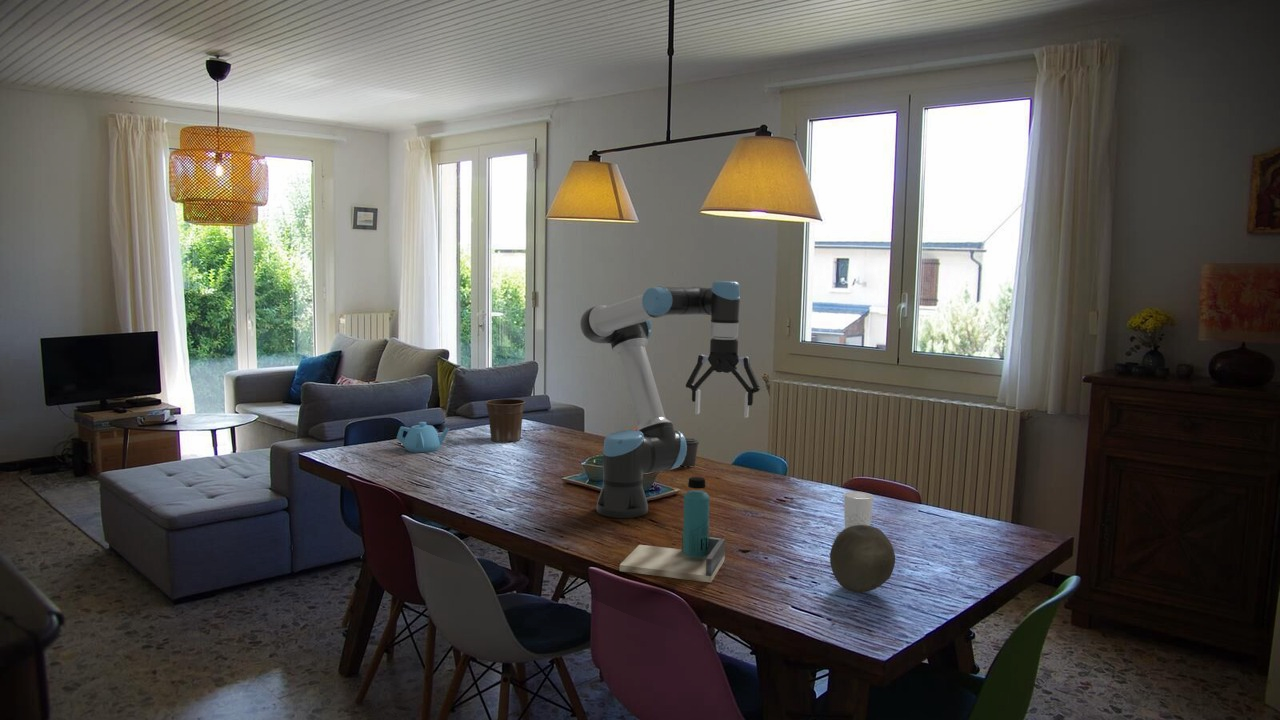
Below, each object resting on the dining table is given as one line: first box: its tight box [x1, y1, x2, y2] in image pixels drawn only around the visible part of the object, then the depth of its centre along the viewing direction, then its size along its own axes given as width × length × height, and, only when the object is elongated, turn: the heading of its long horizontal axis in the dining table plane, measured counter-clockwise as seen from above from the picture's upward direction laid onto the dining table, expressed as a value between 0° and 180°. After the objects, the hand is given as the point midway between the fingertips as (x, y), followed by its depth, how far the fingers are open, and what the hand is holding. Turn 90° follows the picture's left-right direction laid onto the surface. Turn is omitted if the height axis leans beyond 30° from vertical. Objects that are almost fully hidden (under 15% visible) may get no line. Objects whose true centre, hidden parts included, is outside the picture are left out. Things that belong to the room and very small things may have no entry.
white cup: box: [843, 491, 874, 530], centre depth 237 cm, size 8×8×10 cm
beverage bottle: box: [681, 476, 711, 557], centre depth 205 cm, size 6×7×20 cm
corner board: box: [619, 536, 726, 584], centre depth 205 cm, size 22×16×6 cm
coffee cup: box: [680, 437, 700, 467], centre depth 311 cm, size 8×8×10 cm
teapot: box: [396, 421, 450, 453], centre depth 330 cm, size 15×15×11 cm
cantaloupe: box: [829, 525, 896, 594], centre depth 190 cm, size 14×14×15 cm
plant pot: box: [485, 398, 526, 443], centre depth 352 cm, size 16×16×16 cm
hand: (721, 415), depth 233 cm, fingers open, 13 cm apart
